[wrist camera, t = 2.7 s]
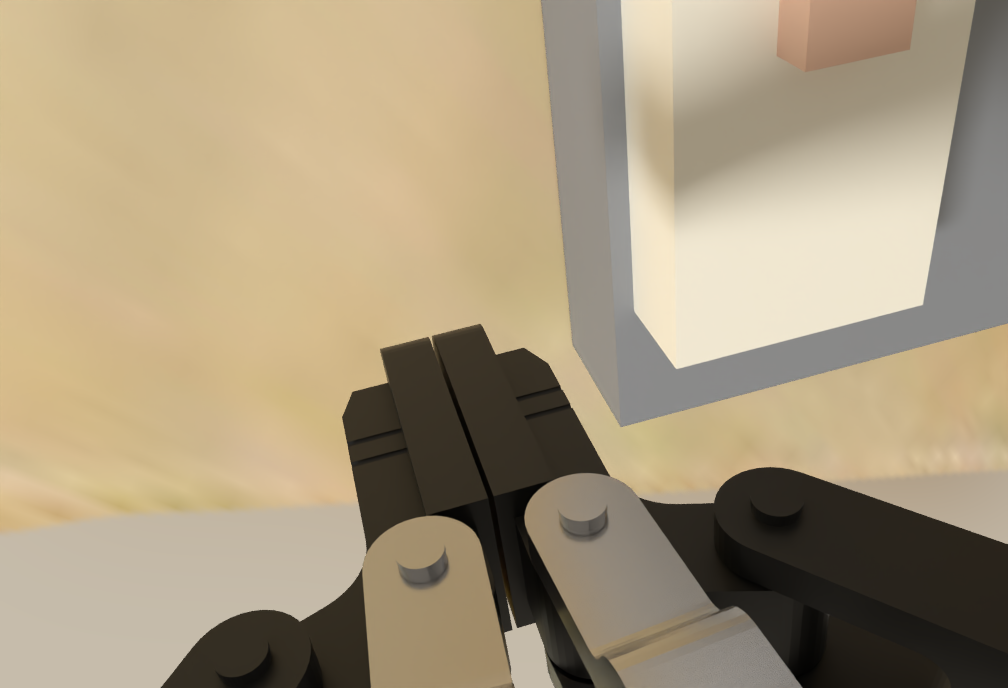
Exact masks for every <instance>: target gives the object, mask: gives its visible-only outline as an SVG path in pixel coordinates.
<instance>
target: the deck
mask: <svg viewBox="0 0 1008 688" xmlns="http://www.w3.org/2000/svg"><path fill="white" fill-rule="evenodd" d="M541 3H542V14H543V25H544V36H545V47H546V58H547V69H548V80H549V90H550V101H551V112H552V123H553V134H554V145H555V156H556V167H557V178H558V189H559V200H560V211H561V222H562V233H563V244H564V255H565V266H566V277H567V288H568V299H569V310H570V321H571V331H572V342H573V346H574V348H575V350H576V351H577V353H578V355H579V357H580V358H581V360H582V362H583V363H584V365H585V367H586V369H587V370H588V372H589V374H590V375H591V377H592V379H593V380H594V382H595V384H596V386H597V387H598V389H599V391H600V392H601V394H602V396H603V398H604V399H605V401H606V403H607V404H608V406H609V408H610V410H611V411H612V413H613V415H614V416H615V418H616V420H617V421H618V423H619V425H620V427H623V426H627V425H631V424H634V423H638V422H642V421H646V420H649V419H653V418H657V417H661V416H664V415H668V414H672V413H675V412H679V411H683V410H687V409H690V408H694V407H698V406H702V405H705V404H709V403H713V402H716V401H720V400H724V399H728V398H731V397H735V396H739V395H743V394H746V393H750V392H754V391H757V390H761V389H765V388H769V387H772V386H776V385H780V384H784V383H787V382H791V381H795V380H798V379H802V378H806V377H810V376H813V375H817V374H821V373H825V372H828V371H832V370H836V369H839V368H843V367H847V366H851V365H854V364H858V363H862V362H866V361H869V360H873V359H877V358H881V357H884V356H888V355H892V354H895V353H899V352H903V351H907V350H910V349H914V348H918V347H922V346H925V345H929V344H933V343H936V342H940V341H944V340H948V339H951V338H955V337H959V336H963V335H966V334H970V333H974V332H977V331H981V330H985V329H989V328H992V327H996V326H1000V325H1004V324H1007V323H1008V0H976V2H975V8H974V13H973V19H972V25H971V31H970V36H969V42H968V48H967V54H966V59H965V65H964V71H963V77H962V82H961V88H960V94H959V100H958V105H957V111H956V117H955V123H954V128H953V134H952V140H951V146H950V151H949V157H948V163H947V169H946V174H945V180H944V186H943V192H942V197H941V203H940V209H939V215H938V220H937V226H936V232H935V238H934V243H933V249H932V255H931V261H930V266H929V272H928V278H927V284H926V289H925V295H924V301H923V305H921V306H917V307H913V308H909V309H905V310H901V311H898V312H894V313H890V314H886V315H882V316H878V317H875V318H871V319H867V320H863V321H859V322H855V323H852V324H848V325H844V326H840V327H836V328H832V329H829V330H825V331H821V332H817V333H813V334H809V335H806V336H802V337H798V338H794V339H790V340H786V341H783V342H779V343H775V344H771V345H767V346H763V347H760V348H756V349H752V350H748V351H744V352H740V353H737V354H733V355H729V356H725V357H721V358H718V359H714V360H710V361H706V362H702V363H698V364H695V365H691V366H687V367H683V368H679V369H676V368H675V367H674V365H673V364H672V363H671V361H670V360H669V359H668V357H667V356H666V354H665V353H664V352H663V350H662V349H661V348H660V346H659V345H658V343H657V342H656V341H655V339H654V338H653V337H652V335H651V334H650V332H649V331H648V330H647V328H646V327H645V326H644V324H643V323H642V321H641V320H640V319H639V317H638V316H637V315H636V313H635V312H634V297H633V274H632V251H631V227H630V204H629V180H628V157H627V134H626V110H625V87H624V63H623V40H622V17H621V0H541Z"/></svg>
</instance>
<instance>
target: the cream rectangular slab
mask: <svg viewBox="0 0 1008 688" xmlns="http://www.w3.org/2000/svg"><path fill="white" fill-rule="evenodd" d="M975 2H976V0H621V17H622V40H623V63H624V87H625V110H626V134H627V157H628V180H629V204H630V227H631V251H632V274H633V297H634V312H635V313H636V315H637V316H638V317H639V319H640V320H641V321H642V323H643V324H644V326H645V327H646V328H647V330H648V331H649V332H650V334H651V335H652V337H653V338H654V339H655V341H656V342H657V343H658V345H659V346H660V348H661V349H662V350H663V352H664V353H665V354H666V356H667V357H668V359H669V360H670V361H671V363H672V364H673V365H674V367H675V368H676V369H679V368H683V367H687V366H691V365H695V364H698V363H702V362H706V361H710V360H714V359H718V358H721V357H725V356H729V355H733V354H737V353H740V352H744V351H748V350H752V349H756V348H760V347H763V346H767V345H771V344H775V343H779V342H783V341H786V340H790V339H794V338H798V337H802V336H806V335H809V334H813V333H817V332H821V331H825V330H829V329H832V328H836V327H840V326H844V325H848V324H852V323H855V322H859V321H863V320H867V319H871V318H875V317H878V316H882V315H886V314H890V313H894V312H898V311H901V310H905V309H909V308H913V307H917V306H921V305H923V301H924V295H925V289H926V284H927V278H928V272H929V266H930V261H931V255H932V249H933V243H934V238H935V232H936V226H937V220H938V215H939V209H940V203H941V197H942V192H943V186H944V180H945V174H946V169H947V163H948V157H949V151H950V146H951V140H952V134H953V128H954V123H955V117H956V111H957V105H958V100H959V94H960V88H961V82H962V77H963V71H964V65H965V59H966V54H967V48H968V42H969V36H970V31H971V25H972V19H973V13H974V8H975Z"/></svg>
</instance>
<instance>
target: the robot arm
mask: <svg viewBox="0 0 1008 688" xmlns="http://www.w3.org/2000/svg"><path fill="white" fill-rule="evenodd" d="M432 341H433V347H434V349H433V347H432V344H431V341H430V339H429V337H427V338H423V339H419V340H415V341H411V342H407V343H403V344H399V345H395V346H391V347H387V348H383V349H380V351H381V356H382V360H383V364H384V368H385V372H386V376H387V381H388V383H385V384H382V385H378V386H374V387H370V388H366V389H362V390H358V391H354V392H352V395H351V397H350V400H349V402H348V405H347V407H346V409H345V412H344V414H343V417H342V419H343V424H344V429H345V434H346V440H347V444H348V450H349V455H350V460H351V465H352V471H353V476H354V481H355V486H356V492H357V497H358V502H359V507H360V512H361V517H362V523H363V527H364V533H365V538H366V547H367V552H366V556H365V559H364V563H363V567H362V569H361V571H360V573H359V575H358V577H357V578H356V580H355V581H354V583H353V584H352V585H351V586H350V587H349V588H348V589H347V590H346V591H345V592H344V593H343V594H342V595H341V596H340V597H339V598H337V599H336V600H335V601H333V602H332V603H330V604H329V605H327V606H326V607H324V608H323V609H321V610H319V611H318V612H316V613H314V614H312V615H311V616H309V617H307V618H306V619H304V620H302V621H300V622H299V621H298V620H297V619H295V618H294V617H292V616H291V615H288V614H286V613H283V612H279V611H274V610H259V611H251V612H247V613H243V614H240V615H237V616H235V617H232V618H230V619H228V620H226V621H224V622H222V623H220V624H219V625H217V626H216V627H214V628H213V629H211V630H210V631H209V632H208V633H206V634H205V635H204V636H203V637H202V638H201V639H200V640H199V641H198V642H197V643H196V644H195V646H194V647H193V648H192V649H191V651H190V652H189V653H188V654H187V655H186V657H185V658H184V659H183V660H182V662H181V663H180V664H179V666H178V667H177V668H176V669H175V671H174V672H173V673H172V675H171V676H170V677H169V678H168V679H167V681H166V682H165V683H164V684H163V686H162V687H161V688H515V687H514V684H513V683H512V678H511V666H510V661H509V655H508V650H507V645H506V640H505V635H504V632H507V631H510V630H512V625H511V620H510V614H509V609H508V603H507V600H508V602H509V605H510V608H511V611H512V614H513V617H514V620H515V623H516V626H517V628H519V627H522V626H526V625H529V624H532V623H536V625H537V628H538V630H539V633H540V636H541V639H542V641H543V644H544V648H545V654H546V660H547V667H548V673H549V675H550V678H551V681H552V683H553V685H554V687H555V688H1008V544H1005V543H1002V542H999V541H996V540H994V539H991V538H988V537H985V536H982V535H979V534H976V533H973V532H971V531H968V530H965V529H962V528H959V527H956V526H953V525H950V524H948V523H945V522H942V521H939V520H936V519H933V518H930V517H927V516H924V515H922V514H919V513H916V512H913V511H910V510H907V509H904V508H902V507H899V506H896V505H893V504H890V503H887V502H884V501H881V500H878V499H875V498H873V497H870V496H867V495H864V494H861V493H858V492H855V491H852V490H850V489H847V488H844V487H841V486H838V485H835V484H832V483H830V482H827V481H824V480H821V479H818V478H815V477H812V476H809V475H807V474H804V473H801V472H797V471H794V470H790V469H784V468H774V467H766V468H756V469H751V470H747V471H744V472H741V473H739V474H737V475H735V476H733V477H732V478H730V479H729V480H728V481H726V482H725V483H724V484H723V485H722V486H721V487H720V489H719V491H718V492H717V494H716V498H715V501H714V503H706V504H663V503H656V502H652V501H648V500H644V499H642V498H639V497H638V496H637V495H636V494H635V492H634V491H633V490H632V489H631V488H630V487H628V486H627V485H626V484H625V483H623V482H621V481H619V480H617V479H615V478H612V477H610V475H609V474H608V472H607V470H606V468H605V466H604V465H603V463H602V461H601V459H600V457H599V456H598V454H597V452H596V450H595V448H594V446H593V445H592V443H591V441H590V439H589V437H588V435H587V434H586V432H585V430H584V428H583V426H582V425H581V423H580V421H579V419H578V417H577V415H576V414H575V412H574V410H573V408H571V406H570V403H569V401H568V399H567V397H566V395H565V393H564V392H563V390H561V387H560V384H559V383H558V381H557V379H556V377H555V375H554V373H553V372H552V370H551V368H550V366H549V364H548V363H546V362H545V361H543V360H542V359H540V358H539V357H537V356H536V355H534V354H533V353H531V352H530V351H528V350H526V349H525V348H521V349H517V350H513V351H509V352H505V353H501V354H498V355H496V354H495V352H494V350H493V348H492V346H491V344H490V342H489V339H488V337H487V335H486V333H485V331H484V329H483V327H482V325H481V324H478V325H474V326H470V327H466V328H462V329H458V330H454V331H450V332H446V333H442V334H438V335H434V336H432ZM506 597H507V598H506Z"/></svg>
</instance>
